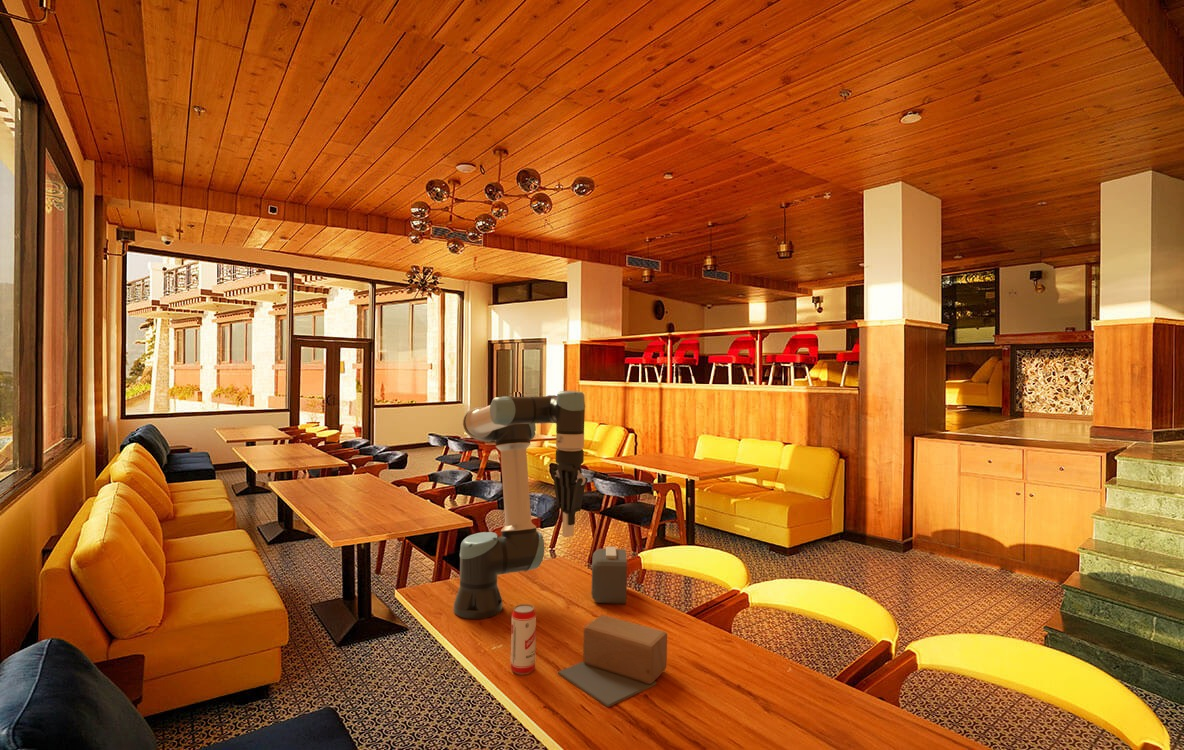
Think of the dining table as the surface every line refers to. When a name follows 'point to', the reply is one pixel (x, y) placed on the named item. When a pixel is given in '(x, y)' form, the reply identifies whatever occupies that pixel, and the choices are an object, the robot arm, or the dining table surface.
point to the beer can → (523, 639)
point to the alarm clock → (609, 575)
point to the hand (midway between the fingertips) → (568, 535)
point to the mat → (603, 683)
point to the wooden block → (625, 648)
